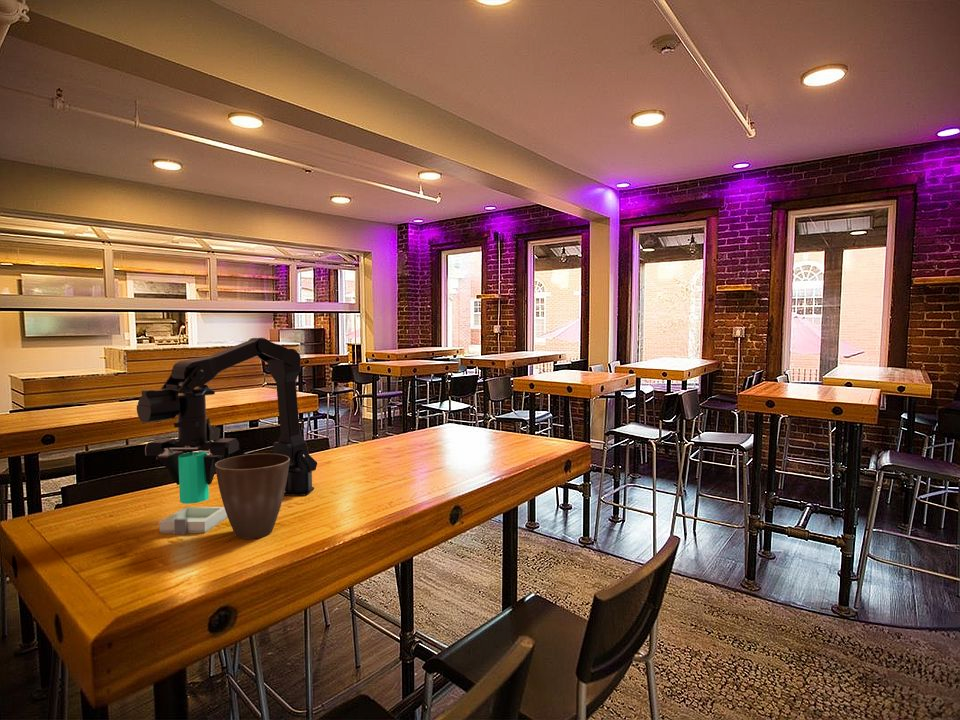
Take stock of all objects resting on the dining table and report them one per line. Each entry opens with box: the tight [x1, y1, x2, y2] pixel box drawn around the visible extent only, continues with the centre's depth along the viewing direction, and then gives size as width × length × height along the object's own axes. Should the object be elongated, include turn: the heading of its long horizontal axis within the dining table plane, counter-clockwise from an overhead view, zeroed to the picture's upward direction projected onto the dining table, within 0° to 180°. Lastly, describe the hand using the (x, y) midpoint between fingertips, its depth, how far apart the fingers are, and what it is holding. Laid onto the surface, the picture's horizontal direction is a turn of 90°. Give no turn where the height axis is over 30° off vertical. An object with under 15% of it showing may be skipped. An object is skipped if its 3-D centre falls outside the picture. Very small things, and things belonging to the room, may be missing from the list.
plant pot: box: [215, 453, 290, 540], centre depth 115 cm, size 15×15×16 cm
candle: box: [178, 451, 210, 505], centre depth 120 cm, size 6×6×12 cm
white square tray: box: [158, 506, 228, 535], centre depth 120 cm, size 10×11×3 cm
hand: (194, 484), depth 120 cm, fingers closed on candle, 7 cm apart
